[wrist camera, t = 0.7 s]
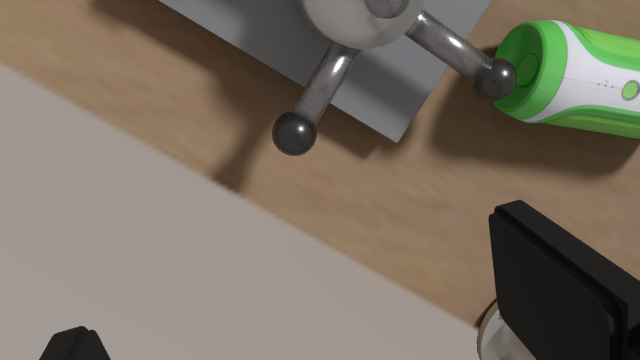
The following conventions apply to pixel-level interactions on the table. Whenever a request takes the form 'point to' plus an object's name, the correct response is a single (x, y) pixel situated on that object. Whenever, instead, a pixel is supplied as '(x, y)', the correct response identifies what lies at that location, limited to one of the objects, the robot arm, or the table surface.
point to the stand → (309, 47)
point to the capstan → (373, 32)
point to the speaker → (573, 78)
